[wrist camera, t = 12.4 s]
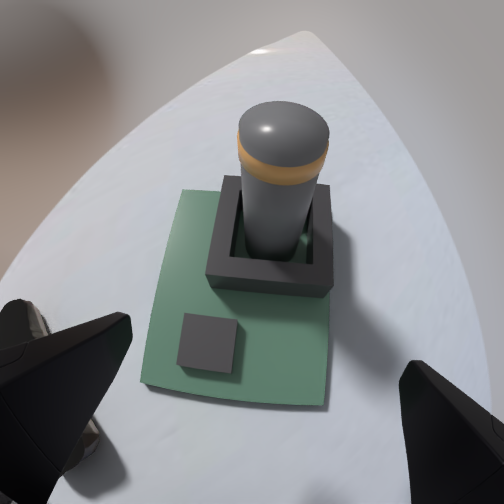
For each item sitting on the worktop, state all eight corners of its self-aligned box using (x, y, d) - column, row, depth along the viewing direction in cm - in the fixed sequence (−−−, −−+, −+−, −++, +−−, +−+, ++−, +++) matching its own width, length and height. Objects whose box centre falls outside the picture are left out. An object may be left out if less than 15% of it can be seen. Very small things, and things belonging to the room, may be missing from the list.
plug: (303, 263, 23) (345, 155, 12) (248, 272, 23) (244, 163, 11) (291, 216, 25) (314, 99, 14) (240, 223, 25) (231, 104, 13)
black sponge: (117, 445, 17) (96, 453, 13) (64, 474, 14) (42, 481, 11) (42, 299, 22) (20, 287, 19) (1, 338, 20) (-20, 330, 17)
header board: (320, 404, 19) (334, 408, 15) (143, 382, 19) (123, 381, 16) (325, 206, 26) (334, 181, 23) (184, 194, 27) (176, 169, 24)
